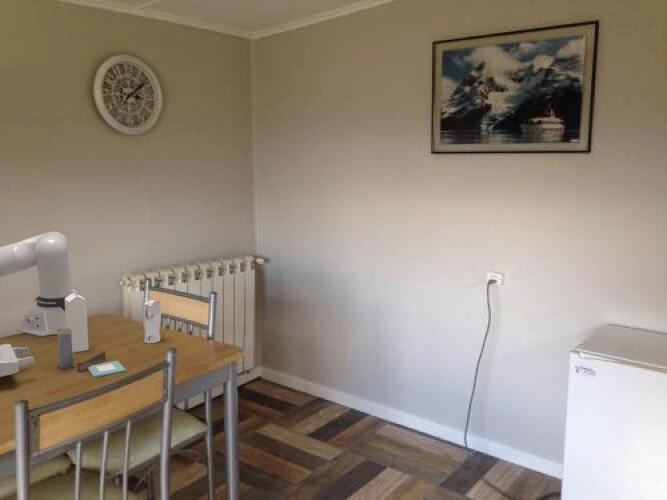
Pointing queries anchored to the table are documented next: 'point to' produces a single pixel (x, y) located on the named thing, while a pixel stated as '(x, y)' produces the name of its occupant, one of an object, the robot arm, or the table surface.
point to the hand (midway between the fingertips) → (31, 354)
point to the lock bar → (65, 348)
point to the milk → (77, 321)
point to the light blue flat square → (106, 369)
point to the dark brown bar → (91, 361)
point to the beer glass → (151, 321)
